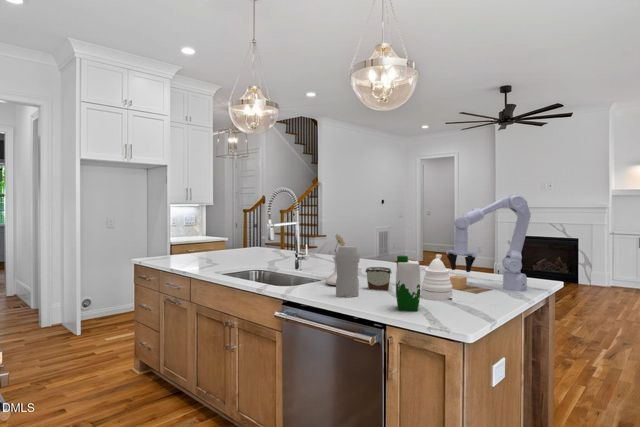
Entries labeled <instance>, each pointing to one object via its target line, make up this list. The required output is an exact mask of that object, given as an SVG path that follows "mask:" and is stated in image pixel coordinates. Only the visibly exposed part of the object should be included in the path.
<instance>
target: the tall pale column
mask: <svg viewBox="0 0 640 427" xmlns="http://www.w3.org/2000/svg"><path fill="white" fill-rule="evenodd" d="M337 249H338V250H337V251H336V252H337V253H336V252H335V255H334V256H335V261H336V263H337V279H336V285H335V297H337V298H358V297H359V293H360V292H359V289H360V288H359V285H360V284H359V281H360V280H359V277H358V275H359V263H360V261H361V260H360V257H361V255H360V253H359V252H358V248H357V246H352V245H345V246H338V248H337Z"/></svg>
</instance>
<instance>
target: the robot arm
mask: <svg viewBox="0 0 640 427" xmlns="http://www.w3.org/2000/svg"><path fill="white" fill-rule="evenodd" d="M501 208H503V209H507V208H508V209H510V210H511V211H513V213H514V214H515V215H516V221H515V227H514V230H513V234H512V237H511V241H510V245H509V249H508V251H507V252H506V254H505V257H504V258H503V259H502V262H501V264H502V266H503V268H504V269H503V271H502V289H503V290H506V291H515V292H518V293H519V292H520V293H521V292H524V291H525V292H526V291H528V290H527V288H528V287H527V286H528V278H527V275H526V274H525V273H522V272H521V270H522V268H523V263H522V260H523V256H522V251H523V247H524V244H525V239H526V235H527V232H528V228H529V224H530V219H531V210H530V208H529V205H528V200H526V199H525V197H524V196H522V195H520V194H515V195H513V194H511V195H509V196H507V197H502V198H500V199H498V200H495V201H494V202H492V203H490V204H488V205H486V206H485V207H483V208H479V207H478V208H477V207H476V208H475V207H474V208H472V209H471V210H470V211H469V212H466V213H463V214H461V215H462V216H457V217H455V219H454V221H453V225H454V226H455V227H454V249H446V250H445V252H446V257H447V259H448V261H449V265H450V266H451V267H450V268H451V271H455V270H456V268H457V257H458V256H463V257H464V260H465V271H466V273H470V272H471V269H472V266H473V263H474V262H475V260H476V257H477V252H474V251H468V248H469V246H468V244H469V243H468V240H469V238H468V236H469V234H468V233H469V232H468V227H469V225H470V226H472V225H473V224H475V223H478V222H480V221H482V220H483V219H484V218H485V216H486V215H488V214H490V213H493V212H495V211H497V210H499V209H501Z"/></svg>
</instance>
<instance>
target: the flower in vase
mask: <svg viewBox="0 0 640 427" xmlns="http://www.w3.org/2000/svg"><path fill="white" fill-rule="evenodd" d="M334 236H335V240H336V242H337V244H336V245H335V248H334V253H335V254H336V253H337V252H338V251H337V247H338V245H339V246H340V247H342V246H346V243H345V241H344V238H343V237H342V236H341V235H340V234H338V233H336V234H335V235H334ZM332 259H333V261H334V271H333V272H332V274H331V275H329V276H328V277H327V278H326V279H325V282H326V284H328V285H331V286H336V279H337V263H336V261H335V255H334V256H332Z"/></svg>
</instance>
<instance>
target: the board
mask: <svg viewBox="0 0 640 427" xmlns="http://www.w3.org/2000/svg"><path fill="white" fill-rule="evenodd" d="M452 290H455V291H460V292H464V293H465V292H466V293H470V294H475V295H477V294H482V293H487V292H489V291H493V290H494V289H492V288H487V287H481V286H477V285H476V286H475V285H472V284H471V285H469V284H467V288H465V289H454V288H452Z"/></svg>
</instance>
